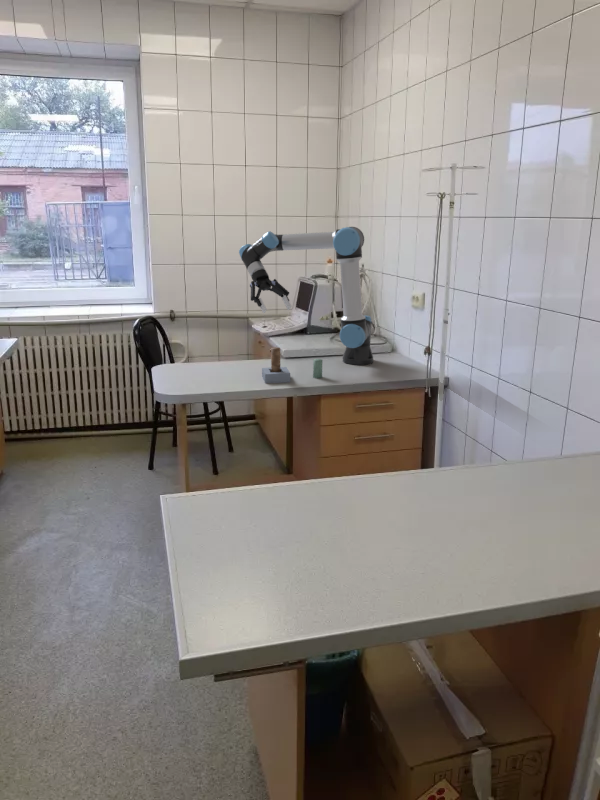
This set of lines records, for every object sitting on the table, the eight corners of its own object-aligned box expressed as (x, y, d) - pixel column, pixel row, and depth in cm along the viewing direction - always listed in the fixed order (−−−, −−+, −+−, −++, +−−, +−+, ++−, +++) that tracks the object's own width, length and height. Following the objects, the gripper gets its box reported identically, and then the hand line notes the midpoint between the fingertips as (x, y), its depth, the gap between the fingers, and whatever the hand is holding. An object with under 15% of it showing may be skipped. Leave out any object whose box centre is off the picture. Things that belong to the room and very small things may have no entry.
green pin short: (321, 375, 280) (321, 358, 278) (322, 378, 277) (323, 360, 274) (312, 376, 280) (312, 358, 277) (314, 378, 276) (314, 361, 273)
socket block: (286, 375, 280) (286, 366, 279) (290, 382, 270) (290, 373, 269) (262, 376, 278) (262, 367, 277) (265, 383, 268) (265, 374, 267)
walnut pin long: (279, 377, 277) (279, 347, 272) (281, 380, 273) (281, 349, 269) (270, 378, 276) (270, 347, 272) (272, 380, 272) (271, 349, 268)
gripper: (277, 276, 299) (296, 311, 292) (232, 281, 285) (251, 317, 278) (283, 266, 293) (302, 301, 286) (238, 270, 279) (257, 307, 272)
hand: (277, 309), depth 282 cm, fingers open, 13 cm apart
